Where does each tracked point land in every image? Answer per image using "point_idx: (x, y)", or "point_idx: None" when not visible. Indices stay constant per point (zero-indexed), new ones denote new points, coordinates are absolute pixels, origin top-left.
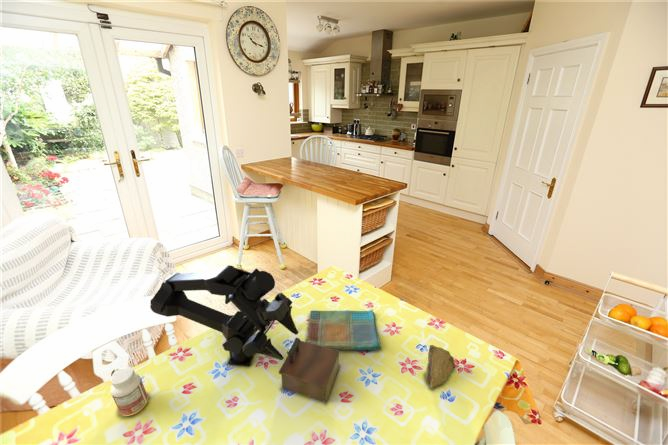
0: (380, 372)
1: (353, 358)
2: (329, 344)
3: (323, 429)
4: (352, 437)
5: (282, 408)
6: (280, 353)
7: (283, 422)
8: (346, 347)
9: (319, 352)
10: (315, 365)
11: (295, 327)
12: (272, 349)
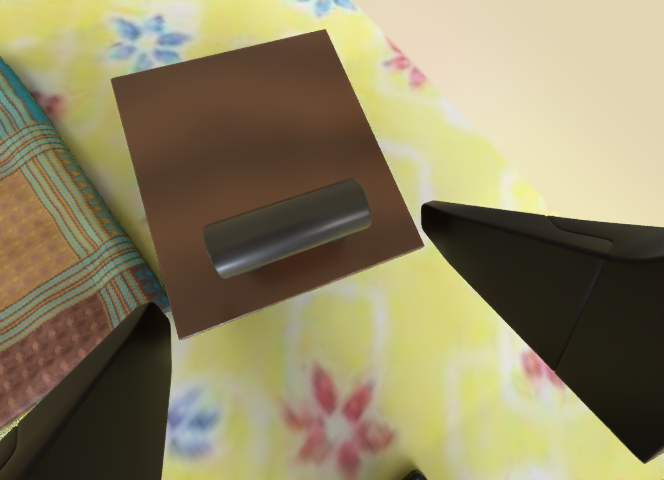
0: (109, 21)
1: (100, 121)
2: (85, 221)
3: (388, 69)
4: (351, 5)
5: (431, 200)
6: (457, 213)
7: (455, 167)
8: (59, 149)
9: (184, 154)
10: (269, 122)
11: (100, 347)
12: (593, 228)
